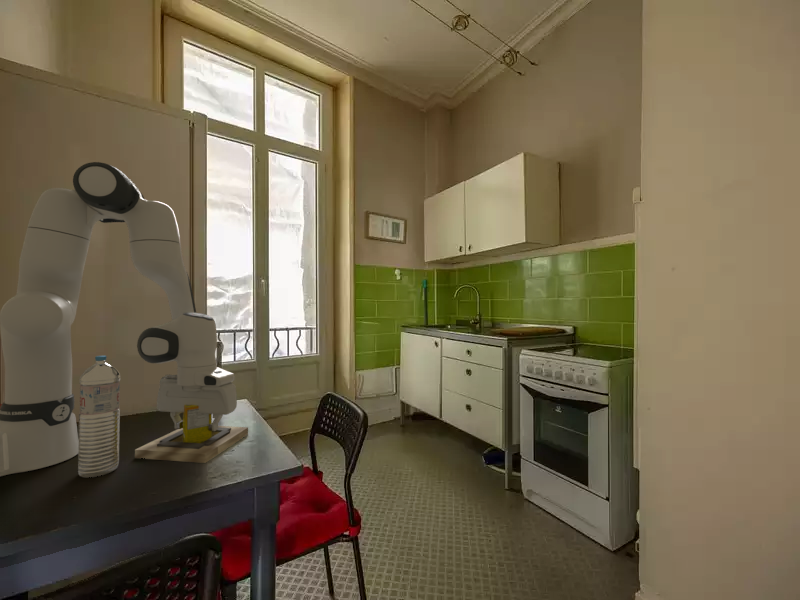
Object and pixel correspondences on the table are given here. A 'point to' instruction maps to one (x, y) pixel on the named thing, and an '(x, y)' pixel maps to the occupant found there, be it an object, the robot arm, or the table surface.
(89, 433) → the water bottle
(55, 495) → the table surface
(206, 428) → the supplement box
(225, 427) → the socket block
